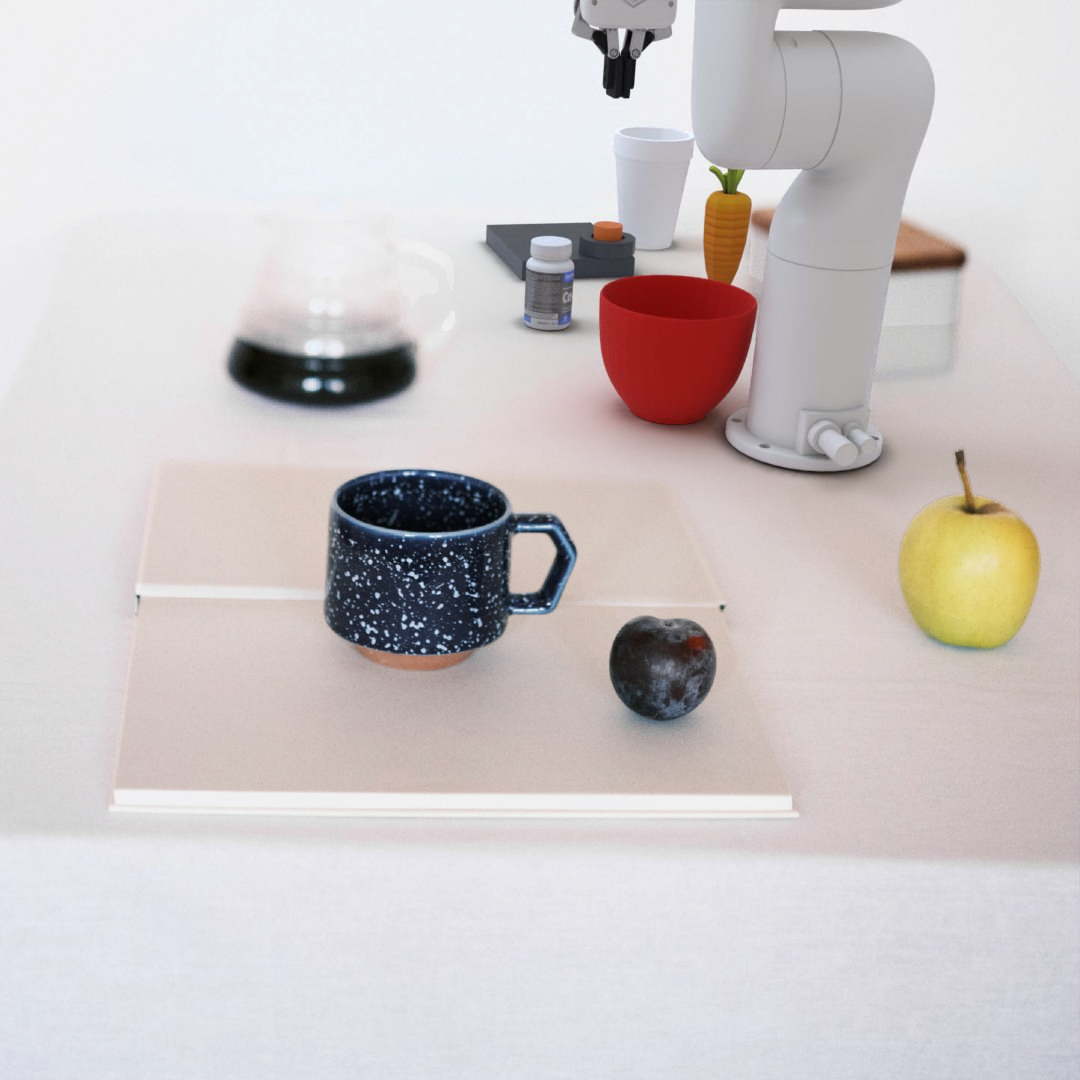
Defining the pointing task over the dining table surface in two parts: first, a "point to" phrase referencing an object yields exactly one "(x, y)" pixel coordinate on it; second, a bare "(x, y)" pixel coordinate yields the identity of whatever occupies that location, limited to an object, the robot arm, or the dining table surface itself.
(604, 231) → the button
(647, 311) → the ceramic cup
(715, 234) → the carrot
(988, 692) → the dining table surface
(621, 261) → the scale
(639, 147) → the foam cup
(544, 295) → the pill bottle
